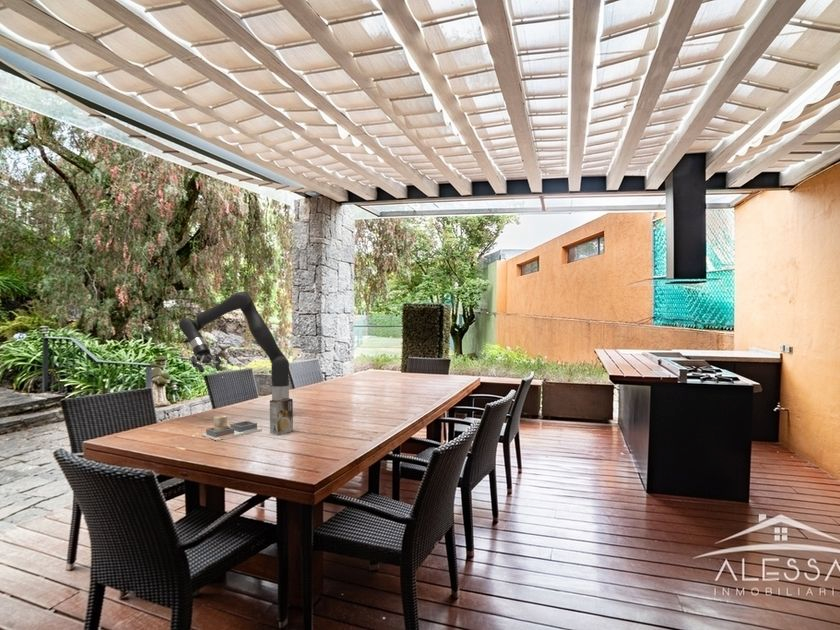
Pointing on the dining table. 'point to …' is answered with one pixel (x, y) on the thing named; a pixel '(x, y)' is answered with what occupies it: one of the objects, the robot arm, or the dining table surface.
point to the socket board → (233, 430)
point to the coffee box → (281, 416)
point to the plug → (220, 423)
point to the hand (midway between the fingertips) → (211, 371)
